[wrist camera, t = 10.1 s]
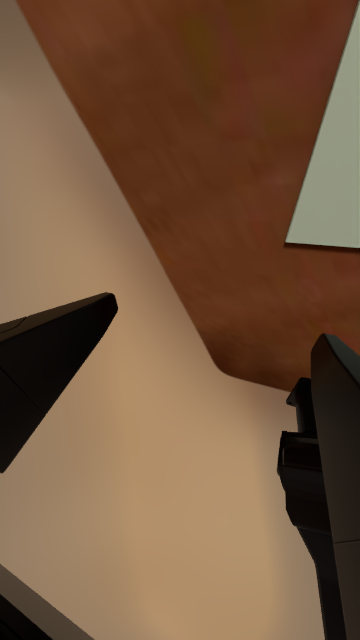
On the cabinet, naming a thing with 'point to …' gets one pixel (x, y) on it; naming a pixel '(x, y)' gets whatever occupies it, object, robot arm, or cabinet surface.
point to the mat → (334, 161)
